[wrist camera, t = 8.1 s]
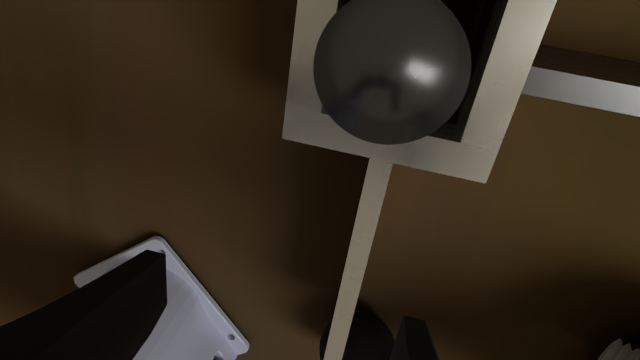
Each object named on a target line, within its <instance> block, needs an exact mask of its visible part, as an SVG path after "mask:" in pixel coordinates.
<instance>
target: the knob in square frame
mask: <svg viewBox="0 0 640 360" xmlns="http://www.w3.org/2000/svg"><path fill="white" fill-rule="evenodd" d="M349 1H351V0H298V1H297V10H296V19H295V27H294V36H293V45H292V54H291V62H290V71H289V80H288V89H287V97H286V106H285V115H284V124H283V132H282V139H286V140H291V141H295V142H300V143H304V144H309V145H314V146H318V147H323V148H327V149H332V150H336V151H341V152H345V153H350V154H354V155H359V156H363V157H368V158H370V159H369V163H368V167H367V172H366V176H365V180H364V185H363V189H362V194H361V198H360V202H359V207H358V211H357V215H356V220H355V224H354V229H353V233H352V237H351V242H350V246H349V250H348V255H347V259H346V264H345V268H344V272H343V277H342V281H341V285H340V290H339V294H338V299H337V303H336V307H335V312H334V316H333V320H332V325H331V329H330V334H329V338H328V342H327V347H326V351H325V355H324V360H342V357H343V353H344V349H345V346H346V342H347V338H348V334H349V330H350V326H351V323H352V319H353V315H354V311H355V307H356V303H357V299H358V296H359V292H360V288H361V284H362V280H363V276H364V273H365V269H366V265H367V261H368V257H369V253H370V249H371V246H372V242H373V238H374V234H375V230H376V226H377V222H378V219H379V215H380V211H381V207H382V203H383V199H384V196H385V192H386V188H387V184H388V180H389V176H390V172H391V169H392V165H393V163H395V164H399V165H404V166H409V167H413V168H418V169H422V170H427V171H431V172H436V173H440V174H445V175H449V176H454V177H458V178H463V179H467V180H472V181H476V182H481V183H485V184H486V182H487V179H488V176H489V174H490V171H491V169H492V166H493V164H494V161H495V158H496V156H497V153H498V151H499V148H500V146H501V143H502V140H503V138H504V135H505V133H506V130H507V128H508V125H509V122H510V120H511V117H512V115H513V112H514V110H515V107H516V104H517V102H518V99H519V97H520V94H521V93H522V94H527V95H532V96H537V97H542V98H547V99H552V100H558V101H563V102H568V103H573V104H578V105H583V106H588V107H593V108H598V109H603V110H608V111H613V112H618V113H623V114H628V115H633V116H638V117H640V63H638V62H632V61H627V60H621V59H616V58H611V57H605V56H600V55H594V54H589V53H584V52H578V51H573V50H568V49H562V48H557V47H551V46H546V45H541V44H540V43H541V40H542V38H543V35H544V32H545V30H546V27H547V25H548V22H549V20H550V17H551V14H552V12H553V9H554V7H555V4H556V1H557V0H479V3H478V6H477V9H476V13H475V16H474V19H473V22H472V26H471V29H470V32H469V35H468V39H467V40H468V43H469V47H470V52H471V75H470V80H469V85H468V88H467V91H466V93H465V96H464V98H463V100H462V102H461V104H460V105H459V107H458V108H457V110H456V111H455V113H454V114H453V115H452V116H451V117H450V119H449V120H448V121H447V122H446V123H444V124H443V125H442V126H441V127H440V128H438V129H437V130H436V131H434V132H433V133H431V134H429V135H427V136H425V137H423V138H421V139H418V140H416V141H413V142H408V143H404V144H396V145H383V144H375V143H371V142H367V141H364V140H362V139H359V138H357V137H355V136H353V135H351V134H349V133H348V132H346V131H345V130H344V129H342V128H341V127H340V126H339V125H338V124H336V123H335V122H334V120H333V119H332V118H331V117H330V116H329V115H328V113H327V112H326V110H325V109H324V107H323V105H322V103H321V101H320V99H319V97H318V94H317V91H316V87H315V82H314V74H313V62H314V55H315V50H316V46H317V43H318V40H319V38H320V36H321V33H322V31H323V30H324V28H325V26H326V25H327V23H328V22H329V20H330V19H331V18H332V17H333V15H334V14H335V13H336V12H337V11H338V10H339V9H340V8H342V7H343V6H344V5H345V4H347V3H348V2H349Z"/></svg>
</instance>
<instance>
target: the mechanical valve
mask: <svg viewBox="0 0 640 360" xmlns="http://www.w3.org/2000/svg"><path fill="white" fill-rule="evenodd" d="M331 325H332V321H331V322H330V323H329V324H328V326H327V327H326V329H325V331H324V333H323V335H322V338H321V340H320V359H321V360H324V355H325V351H326V347H327V342H328V338H329V334H330V329H331ZM394 343H395V342H394V338H393V335H392V333H391V331H390V330H389V328H388V327H387V326H386V324H385V323H384V322H383V321H382V320H381V319H379V318H378V317H376V316H375V315H373V314H371V313H368V312H364V311H354V315H353V319H352V323H351V326H350V330H349V334H348V338H347V342H346V346H345V349H344V353H343V357H342V360H389V358H390V355H391V352H392V349H393V346H394ZM598 360H640V349H639V348H637V349H635V350H633V351H632V348H631V344H629V343H628V344H626V345H624V346H623V343H622V339H618V340H616V341H614V342H612V343H611V344H610V345H609V346H608V347H607V348H606V349H605V350H604V352H603V353H602V354H601V355H600V357H599V358H598Z"/></svg>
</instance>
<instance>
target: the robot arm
mask: <svg viewBox="0 0 640 360" xmlns="http://www.w3.org/2000/svg"><path fill="white" fill-rule="evenodd" d="M162 250H163V251H164V252H163V251H162ZM74 282H75V284H76V285H77V286H78V287H79V289H77V290H75V291H73V292H71V293H69V294H68V295H66V296H64V297H62V298H60V299H58V300H56V301H54V302H52V303H50V304H48V305H46V306H44V307H42V308H40V309H38V310H36V311H34V312H32V313H30V314H28V315H26V316H23V317H21V318H19V319H17V320H14V321H12V322H10V323H7V324H5V325H3V326H0V360H235V359H236V357H237V355H239V354H243V353H246V352H247V351H248V348H249V343H248V341H247V340H246V339H245V338H244V336H243V335H242V334H241V333H240V331H239V330H238V329H237V328H236V326H235V325H234V324H233V323H232V322H231V320H230V319H229V318H228V317H227V315H226V314H225V313H224V312H223V311H222V309H221V308H220V307H219V306H218V304H217V303H216V302H215V301H214V300H213V298H212V297H211V296H210V295H209V293H208V292H207V291H206V290H205V288H204V287H203V286H202V285H201V284H200V282H199V281H198V280H197V279H196V277H195V276H194V275H193V274H192V273H191V271H190V270H189V269H188V268H187V266H186V265H185V264H184V263H183V262H182V260H181V259H180V258H179V257H178V255H177V254H176V253H175V252H174V250H173V249H172V248H171V247H170V246H169V244H168V243H167V242H166V241H165V240H164V239H163V238H162V237H160V236H154V237H152V238H150V239H148V240H146V241H143V242H141V243H139V244H137V245H135V246H133V247H131V248H129V249H127V250H125V251H123V252H121V253H119V254H117V255H115V256H113V257H111V258H108V259H106V260H104V261H102V262H100V263H98V264H96V265H94V266H92V267H90V268H88V269H86V270H84V271H82V272H80V273H78V274H77V275H76V276H75V277H74ZM389 360H439V358H438V355H437V352H436V349H435V346H434V343H433V340H432V337H431V333H430V330H429V326H428V324H427V322H426V321H424V320H420V319H416V318H412V317H408V316H404V317H403V320H402V323H401V325H400V328H399V331H398V334H397V337H396V340H395V343H394V346H393V349H392V352H391V355H390V358H389Z"/></svg>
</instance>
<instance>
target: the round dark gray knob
mask: <svg viewBox="0 0 640 360" xmlns="http://www.w3.org/2000/svg"><path fill="white" fill-rule="evenodd" d="M313 74H314V82H315V87H316V91H317V94H318V97H319V99H320V101H321V103H322V105H323V107H324V109H325V110H326V112H327V113H328V115H329V116H330V117H331V118H332V119H333V120H334V122H335V123H336V124H338V125H339V126H340V127H341V128H342V129H344V130H345V131H346V132H348V133H349V134H351V135H353V136H355V137H357V138H359V139H362V140H364V141H367V142H371V143H375V144H383V145H396V144H404V143H408V142H413V141H416V140H418V139H421V138H423V137H425V136H427V135H429V134H431V133H433V132H434V131H436V130H437V129H438V128H440V127H441V126H442V125H443V124H444V123H446V122H447V121H448V120H449V119H450V117H451V116H452V115H453V114H454V113H455V111H456V110H457V108H458V107H459V105H460V104H461V102H462V100H463V98H464V96H465V93H466V91H467V88H468V85H469V80H470V75H471V52H470V47H469V43H468V40H467V37H466V34H465V32H464V30H463V28H462V26H461V24H460V23H459V21H458V20H457V18H456V17H455V16H454V14H453V13H452V11H451V10H450V9H449V8H448V7H447V6H446V5H445V4H444V3H443V2H441V1H440V0H351V1H349V2H348V3H347V4H345V5H344V6H343V7H342V8H340V9H339V10H338V11H337V12H336V13H335V14H334V15H333V17H332V18H331V19H330V20H329V22H328V23H327V25H326V26H325V28H324V30H323V31H322V33H321V36H320V38H319V40H318V43H317V46H316V50H315V55H314V62H313Z"/></svg>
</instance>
